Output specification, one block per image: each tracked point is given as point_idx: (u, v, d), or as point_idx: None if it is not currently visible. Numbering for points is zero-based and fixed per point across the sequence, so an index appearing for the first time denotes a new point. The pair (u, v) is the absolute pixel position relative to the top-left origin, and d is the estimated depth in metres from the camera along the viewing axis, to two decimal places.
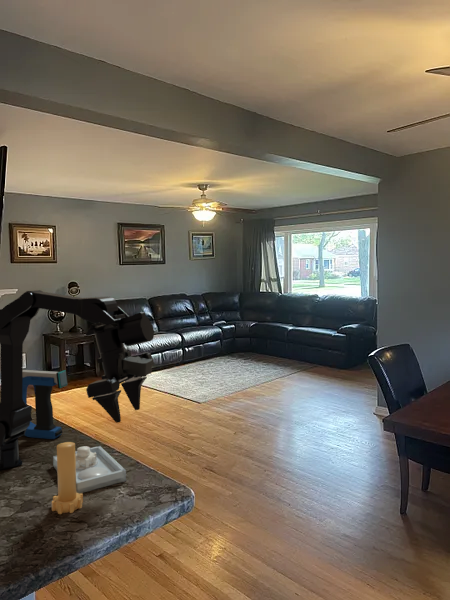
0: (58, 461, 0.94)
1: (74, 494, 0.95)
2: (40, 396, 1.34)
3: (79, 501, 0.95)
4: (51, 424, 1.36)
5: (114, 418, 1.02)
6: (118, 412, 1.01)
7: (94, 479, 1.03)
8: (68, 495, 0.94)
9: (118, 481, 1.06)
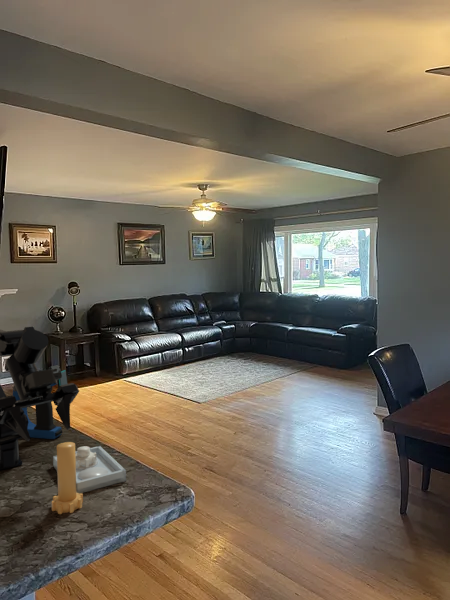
0: (58, 461, 0.94)
1: (74, 494, 0.95)
2: None
3: (79, 501, 0.95)
4: (51, 424, 1.36)
5: (24, 437, 0.98)
6: (24, 429, 0.98)
7: (94, 479, 1.03)
8: (68, 495, 0.94)
9: (118, 481, 1.06)
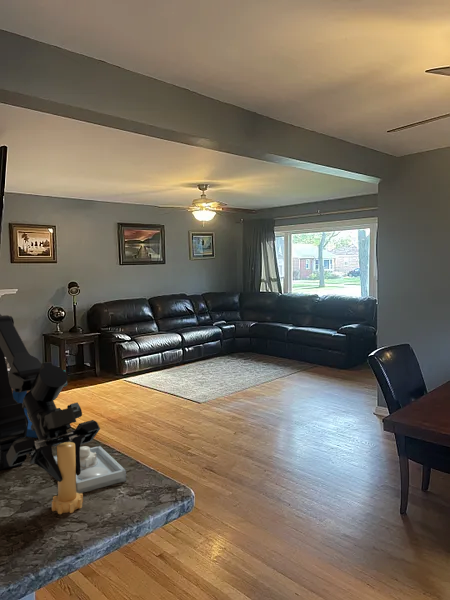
0: (58, 461, 0.94)
1: (74, 494, 0.95)
2: None
3: (79, 501, 0.95)
4: None
5: (56, 477, 0.94)
6: (56, 469, 0.93)
7: (94, 479, 1.03)
8: (68, 495, 0.94)
9: (118, 481, 1.06)
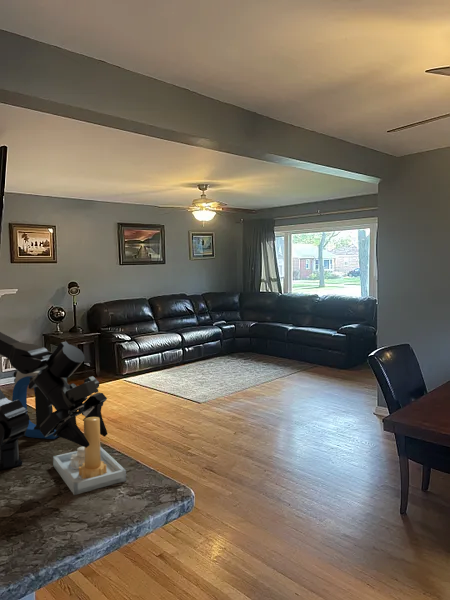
0: (87, 433, 1.06)
1: (100, 461, 1.08)
2: (40, 396, 1.34)
3: (105, 466, 1.09)
4: None
5: (82, 444, 1.04)
6: (83, 436, 1.04)
7: (94, 479, 1.03)
8: (97, 462, 1.07)
9: (118, 481, 1.06)
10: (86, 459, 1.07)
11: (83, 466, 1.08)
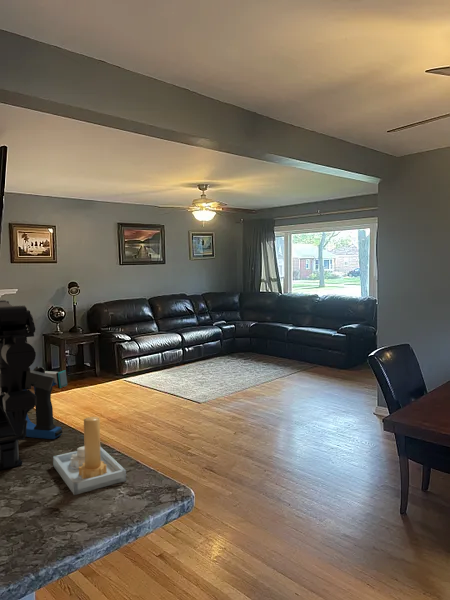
0: (87, 433, 1.06)
1: (100, 461, 1.08)
2: (40, 396, 1.34)
3: (105, 466, 1.09)
4: (51, 424, 1.36)
5: (17, 431, 1.00)
6: (23, 425, 1.01)
7: (94, 479, 1.03)
8: (97, 462, 1.07)
9: (118, 481, 1.06)
10: (86, 459, 1.07)
11: (83, 466, 1.08)
